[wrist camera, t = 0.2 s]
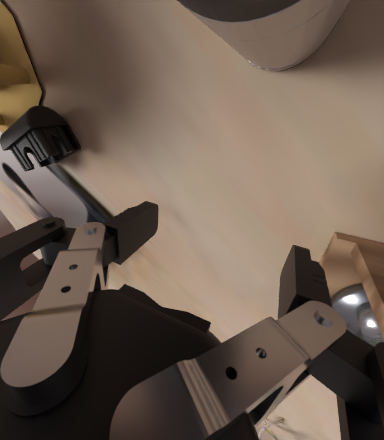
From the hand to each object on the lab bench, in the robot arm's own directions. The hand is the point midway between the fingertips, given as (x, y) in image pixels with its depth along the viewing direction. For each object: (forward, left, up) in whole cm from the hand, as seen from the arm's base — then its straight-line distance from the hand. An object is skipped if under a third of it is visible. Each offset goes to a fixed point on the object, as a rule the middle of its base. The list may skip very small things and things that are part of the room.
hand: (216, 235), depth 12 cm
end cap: (+1, -35, -18) cm, 40 cm away
